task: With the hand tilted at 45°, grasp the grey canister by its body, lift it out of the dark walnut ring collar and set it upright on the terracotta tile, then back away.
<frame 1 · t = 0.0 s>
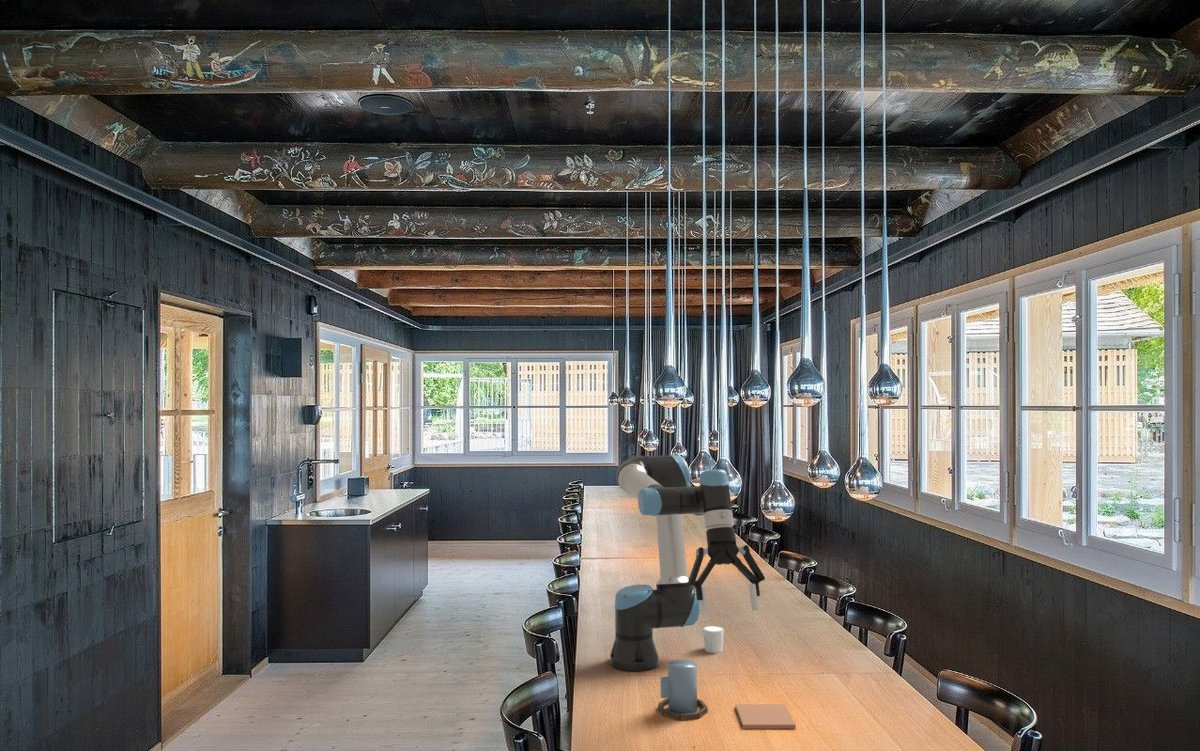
hand: (730, 612, 198), 28 cm above the table, tool tilted 20°, fingers open, 13 cm apart
walnut collar: (682, 710, 206), on the table
grey canister: (678, 687, 206), in the walnut collar
terracotta tile: (764, 717, 200), on the table
white tapered cylinder: (713, 650, 255), on the table
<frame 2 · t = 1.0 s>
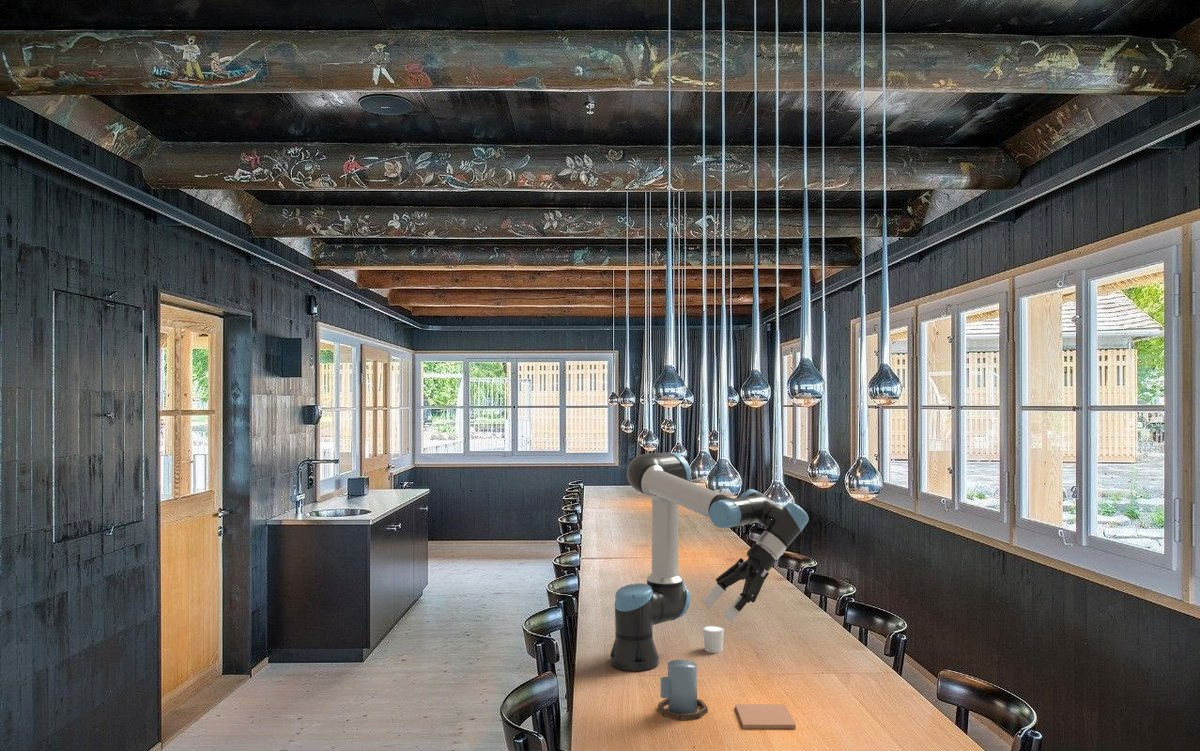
hand: (716, 612, 209), 25 cm above the table, tool tilted 45°, fingers open, 13 cm apart
nothing on the table moved.
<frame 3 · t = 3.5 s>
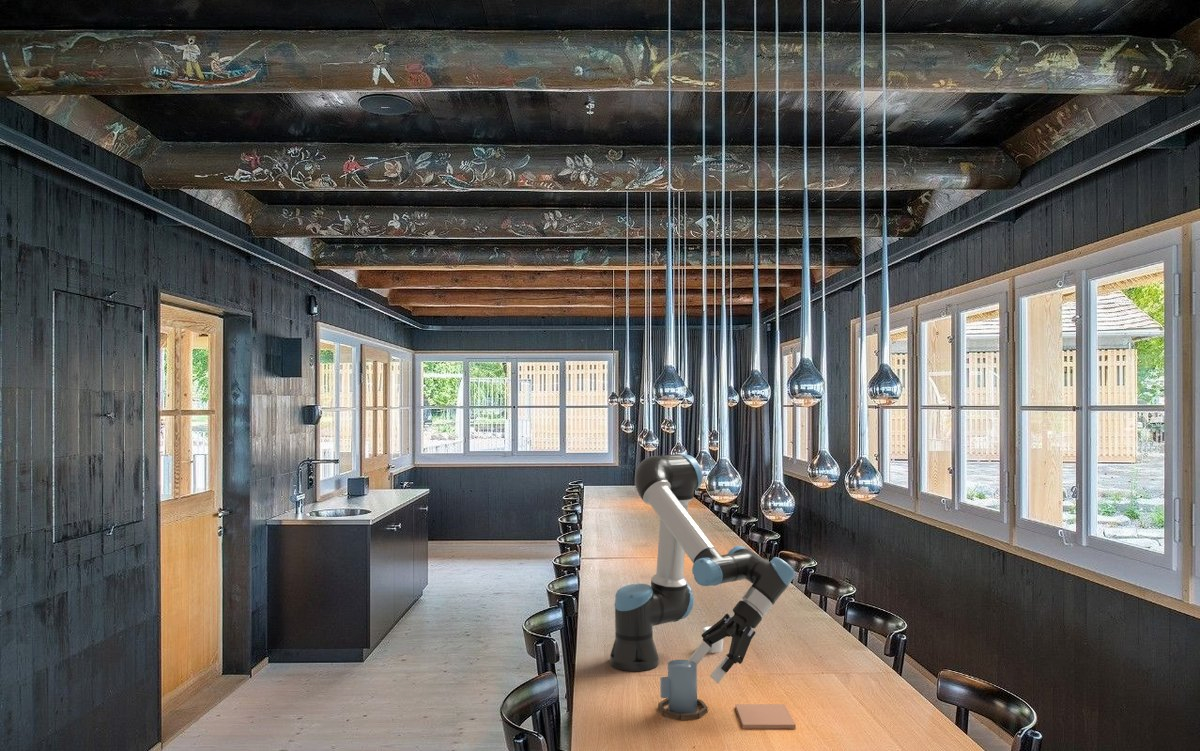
hand: (702, 671, 206), 10 cm above the table, tool tilted 45°, fingers open, 13 cm apart
nothing on the table moved.
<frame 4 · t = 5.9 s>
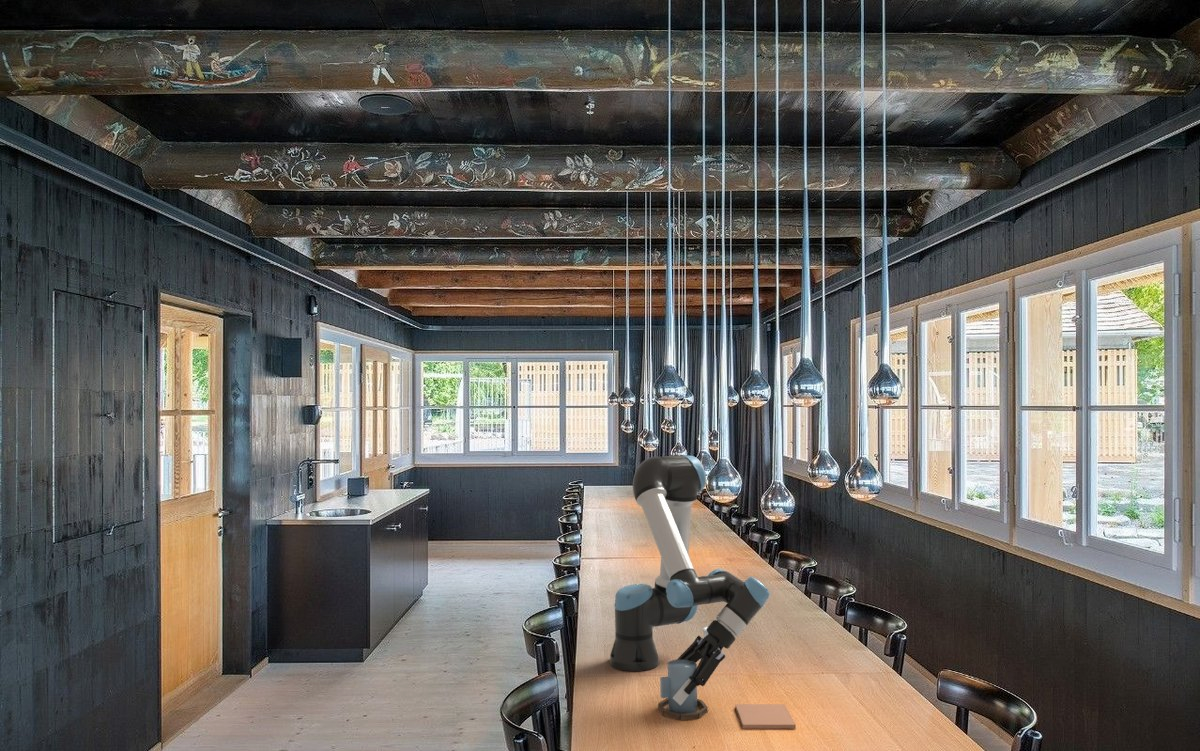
hand: (670, 695, 205), 4 cm above the table, tool tilted 45°, fingers closed on grey canister, 8 cm apart
grey canister: (678, 687, 206), in the walnut collar, touching gripper
everything else where it was.
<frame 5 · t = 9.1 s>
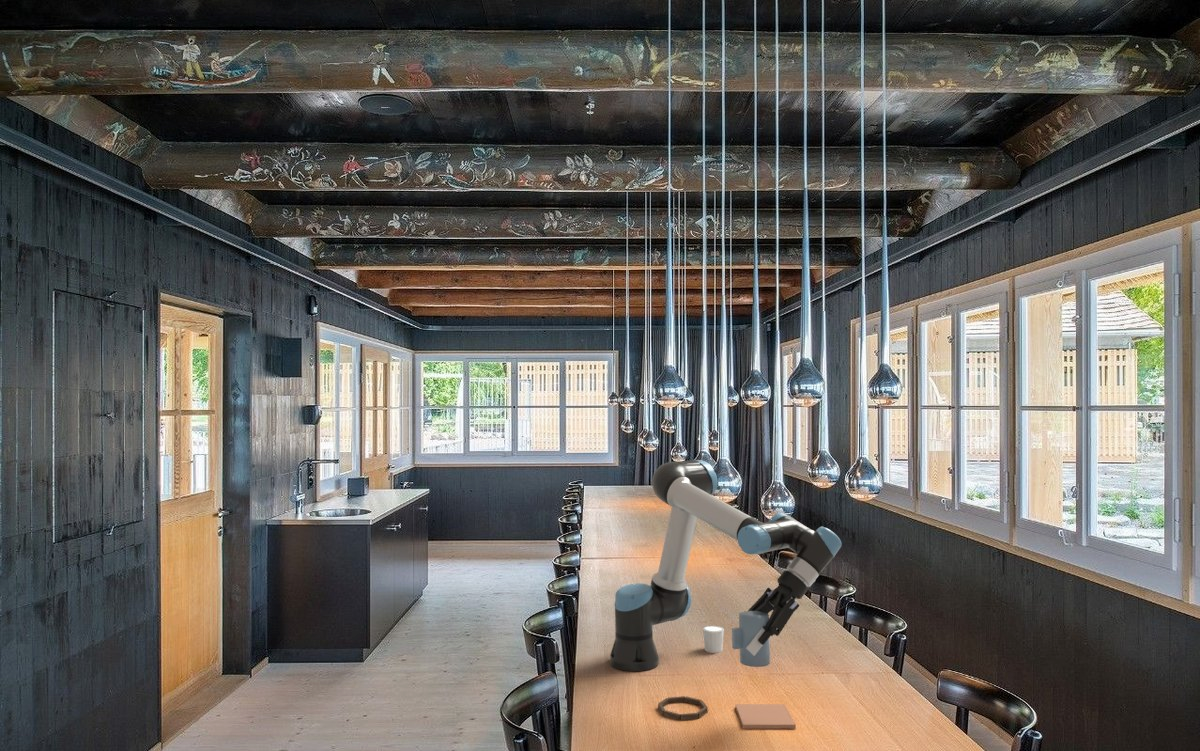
hand: (742, 647, 200), 18 cm above the table, tool tilted 45°, fingers closed on grey canister, 8 cm apart
grey canister: (750, 638, 201), point 20 cm above the table, touching gripper
everything else where it was.
when the fingers open (7 cm above the table, at t = 12.4 s): grey canister drops 1 cm, resting on terracotta tile.
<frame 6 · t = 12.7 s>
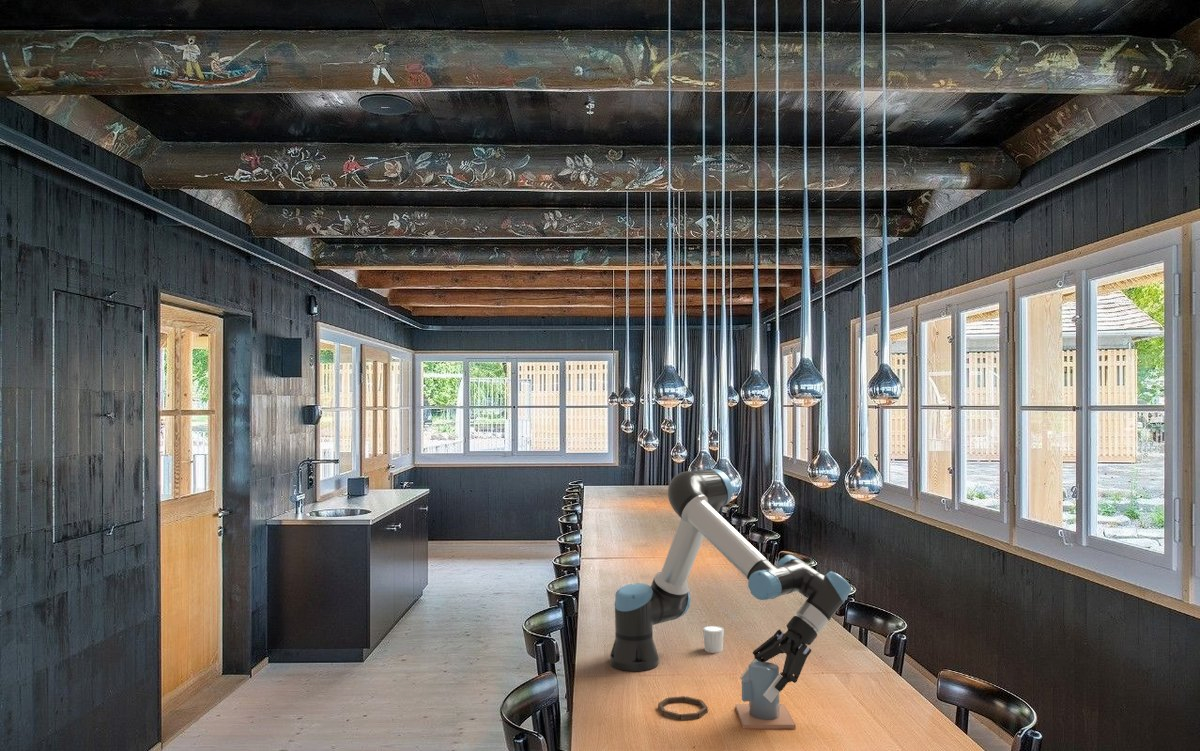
hand: (754, 690, 200), 7 cm above the table, tool tilted 45°, fingers open, 12 cm apart
grey canister: (760, 690, 200), on the terracotta tile, point 7 cm above the table
everything else where it was.
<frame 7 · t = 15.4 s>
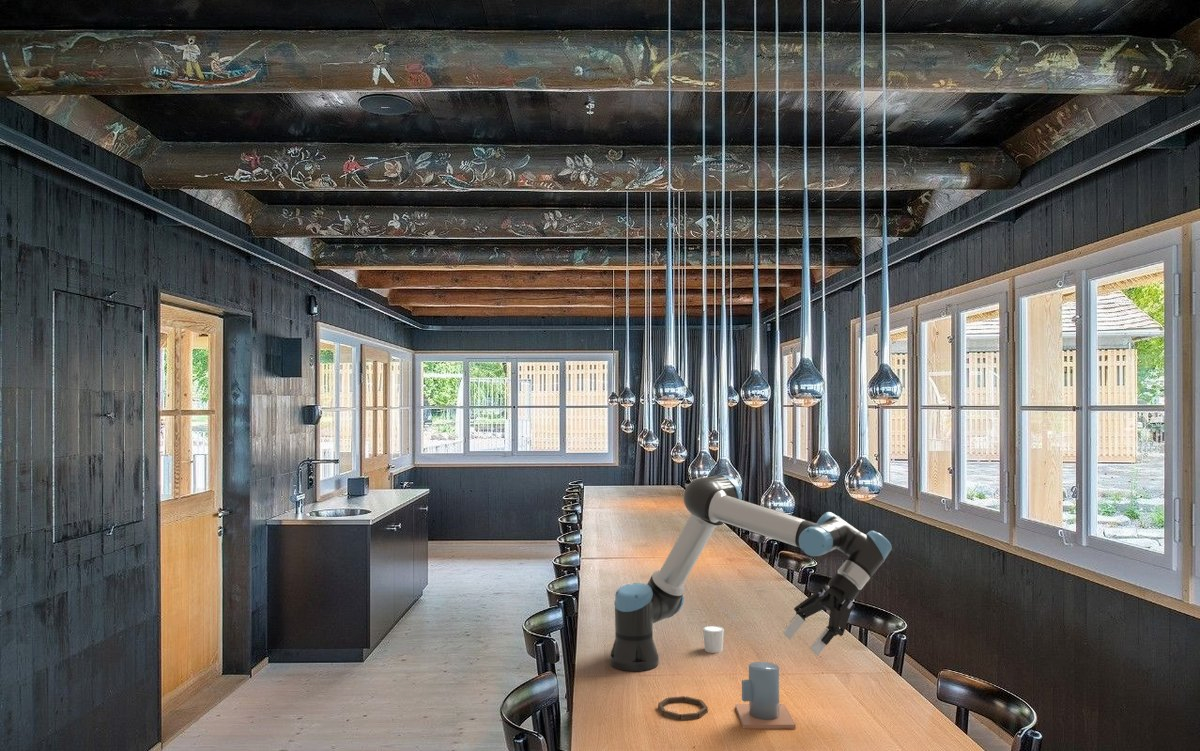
hand: (799, 643, 204), 18 cm above the table, tool tilted 45°, fingers open, 13 cm apart
nothing on the table moved.
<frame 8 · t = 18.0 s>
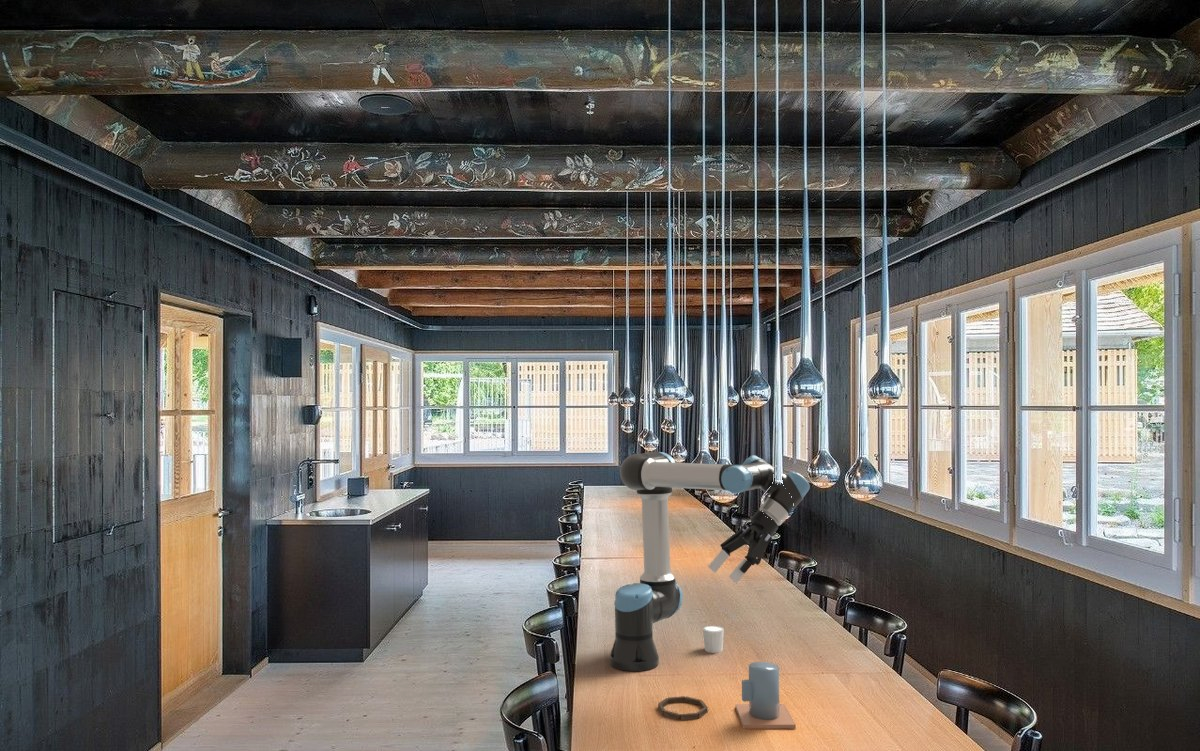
hand: (721, 574, 219), 33 cm above the table, tool tilted 45°, fingers open, 13 cm apart
nothing on the table moved.
at the end: grey canister inside the target area on the terracotta tile (0.1 cm from its centre), point 7.0 cm above the terracotta tile's base; grey canister tilted 0°; the gripper is holding nothing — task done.
